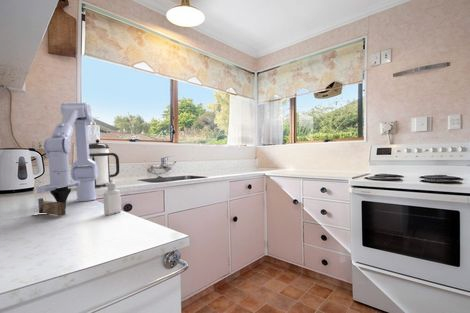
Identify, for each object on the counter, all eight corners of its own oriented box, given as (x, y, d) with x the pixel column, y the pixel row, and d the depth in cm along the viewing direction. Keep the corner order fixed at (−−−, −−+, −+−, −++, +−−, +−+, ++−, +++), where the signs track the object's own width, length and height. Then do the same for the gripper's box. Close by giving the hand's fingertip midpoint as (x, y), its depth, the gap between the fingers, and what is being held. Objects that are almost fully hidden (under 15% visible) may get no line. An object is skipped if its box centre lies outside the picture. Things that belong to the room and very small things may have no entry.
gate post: (36, 212, 89) (35, 198, 89) (52, 211, 92) (51, 196, 91) (31, 216, 85) (30, 200, 85) (49, 214, 87) (48, 198, 87)
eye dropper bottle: (122, 212, 85) (121, 179, 85) (105, 215, 82) (103, 180, 82) (120, 210, 89) (118, 178, 89) (103, 213, 86) (101, 179, 85)
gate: (41, 213, 87) (41, 201, 87) (46, 211, 88) (46, 200, 88) (60, 216, 82) (59, 204, 82) (65, 214, 83) (64, 203, 83)
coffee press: (106, 187, 147) (104, 138, 146) (80, 188, 147) (78, 139, 146) (120, 183, 164) (118, 139, 163) (97, 184, 165) (95, 140, 164)
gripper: (69, 169, 93) (71, 203, 94) (28, 173, 79) (31, 214, 80) (83, 169, 92) (86, 204, 92) (45, 173, 78) (47, 215, 78)
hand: (61, 209), depth 86 cm, fingers closed
